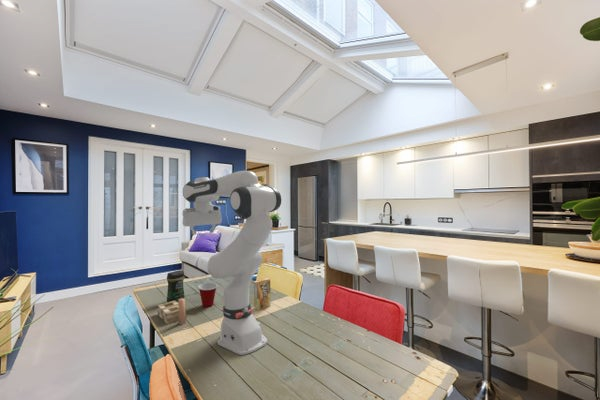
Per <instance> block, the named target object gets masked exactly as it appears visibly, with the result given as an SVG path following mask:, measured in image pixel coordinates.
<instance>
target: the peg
mask: <svg viewBox="0 0 600 400" xmlns="http://www.w3.org/2000/svg"><path fill="white" fill-rule="evenodd" d="M178 309H179V321H178V325H180V326H181V325H185V324H186V318H185V309H186V299H184V298H182V299H179V300H178Z"/></svg>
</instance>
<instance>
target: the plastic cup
mask: <svg viewBox="0 0 600 400" xmlns="http://www.w3.org/2000/svg"><path fill="white" fill-rule="evenodd" d="M197 288H198V290H199V294H200V300H201V305H202V307H203V308H210V307H213V306H214V301H215V296H216V290H217V288H218V284H217V283H216V282H204V283H201V284H199V285H198V286H197Z"/></svg>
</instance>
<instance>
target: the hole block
mask: <svg viewBox="0 0 600 400" xmlns="http://www.w3.org/2000/svg"><path fill="white" fill-rule="evenodd" d="M186 309H187V308H185V319H186V317H187V316H186V315H187V312H186V311H187V310H186ZM157 315H158V316H159V317H160V318H161V319H162V321H164V322H165V324H167V325H169V324H172V323H174V322H179V309H178V302H176V301H171V302H168V303H167V302H164V303H161V304H157Z"/></svg>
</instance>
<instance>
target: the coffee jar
mask: <svg viewBox="0 0 600 400" xmlns="http://www.w3.org/2000/svg"><path fill="white" fill-rule="evenodd" d="M166 280H167V293H166V294H167V295H166V303H168V302H171V301H176V302H178V300H179V299H182V298H184V299H185V290H184V280H185V272H184V270H181V269H178V270H175V271H172V272H168V273H167V276H166ZM185 300H186V299H185Z"/></svg>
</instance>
